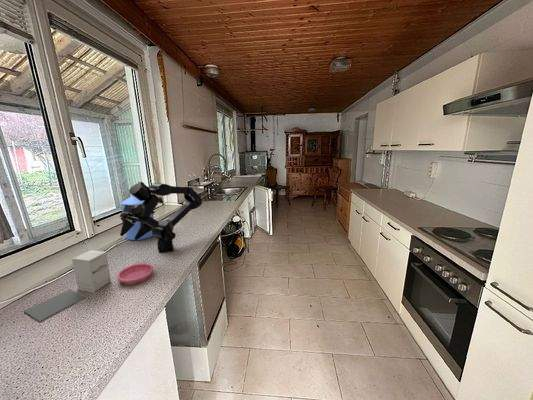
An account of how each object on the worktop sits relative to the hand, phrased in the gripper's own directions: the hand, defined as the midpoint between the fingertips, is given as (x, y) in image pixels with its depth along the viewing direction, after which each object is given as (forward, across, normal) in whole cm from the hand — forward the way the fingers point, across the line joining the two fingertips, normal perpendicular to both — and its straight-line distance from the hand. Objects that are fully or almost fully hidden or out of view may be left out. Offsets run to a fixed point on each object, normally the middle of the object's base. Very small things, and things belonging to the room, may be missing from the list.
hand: (128, 237), depth 94 cm
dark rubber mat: (+28, 0, -9) cm, 30 cm away
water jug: (-8, -28, +28) cm, 40 cm away
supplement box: (+20, 0, -1) cm, 20 cm away
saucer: (+13, +9, +7) cm, 18 cm away
